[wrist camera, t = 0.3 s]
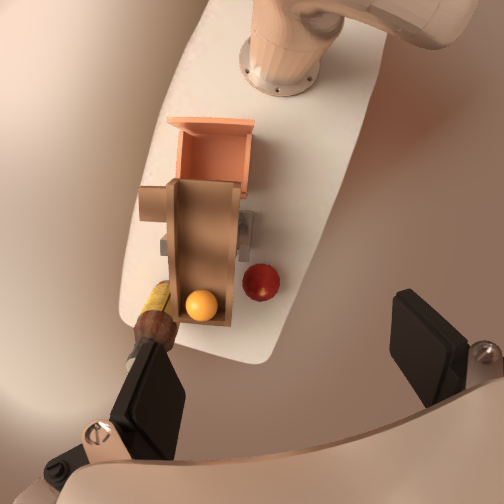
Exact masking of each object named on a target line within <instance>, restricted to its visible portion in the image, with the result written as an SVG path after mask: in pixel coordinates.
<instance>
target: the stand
mask: <svg viewBox="0 0 504 504" xmlns="http://www.w3.org/2000/svg"><path fill="white" fill-rule="evenodd" d="M252 222H253V212H248V211H239V217H238V230H237V244H236V245H237V250H239V261H241V262H249V252H250V245H251V234H252ZM160 253H161V256H168V245H167V234H166V235H165V236H164V237H163V238H162V239H161V240H160Z"/></svg>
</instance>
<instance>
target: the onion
mask: <svg viewBox="0 0 504 504" xmlns="http://www.w3.org/2000/svg"><path fill="white" fill-rule="evenodd" d="M242 286H243V289H244V291H245V293H246V295H247V296H249V297H250V298H251V299H252V300H255V301H259V302H261V301H267V300H269V299H271V298H273V297H274V296H275V294H276V293H277V292H278V289H279V286H280V278H279V275H278V273H277V272H276V270H275V269H274V268H273V267H271V266H270V265H266V264H255V265H253V266H251V267H249V269H248V270H247V271H246V272H245V274H244V277H243V280H242Z"/></svg>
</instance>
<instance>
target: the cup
mask: <svg viewBox="0 0 504 504" xmlns="http://www.w3.org/2000/svg"><path fill="white" fill-rule="evenodd" d="M254 121H255V120H246V119H232V118H211V117H167V123H169V124H171V125H173V126H175V127H177V128H179V129H181V130H183V131H179V135H178V148H177V162H176V178H181V179H204V180H222V181H237V182H241V192H240V198H241V199H246V196H247V193H246V192H247V185H248V173H249V162H250V150H251V139H252V131H253V127H254Z"/></svg>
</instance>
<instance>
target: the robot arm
mask: <svg viewBox="0 0 504 504" xmlns="http://www.w3.org/2000/svg"><path fill="white" fill-rule="evenodd" d="M478 2H479V0H253V14H252V27H251V36H250V37H249V38H248V39H247V40H246V41H245V43H244V44H243V46H242V48H241V50H240V55H239V64H240V69H241V71H242V74H243V75H244V77H245V79H246V80H247V81H248V82H249V83H250V84H251V85H252V86H253V87H255V88H256V89H258V90H260V91H261V92H263V93H266V94H269V95H274V96H291V95H295V94H298V93H301V92H303V91H304V90H306V89H307V88H308V87H310V86H311V85H312V84H313V83H314V81H315V80H316V78H317V76H318V74H319V70H320V60H319V59H320V58H321V57H322V55H323V54H324V53H325V52H326V50H327V49H328V48H329V47H330V46H331V44H332V43H333V42H334V41H335V39H336V38H337V37H338V36H339V34H340V33H341V31H342V28H343V25H344V18H345V17H347V18H350V19H354V20H357V21H360V22H363V23H365V24H368V25H370V26H373V27H375V28H377V29H380V30H382V31H384V32H387V33H389V34H391V35H393V36H396V37H398V38H400V39H402V40H404V41H407V42H409V43H411V44H413V45H415V46H418V47H421V48H425V49H429V50H437V49H442V48H445V47H447V46H449V45H450V44H452V43H453V42H454V41H455V40H456V39H457V38H458V37H459V36H460V35H461V34H462V32H463V31H464V29H465V28H466V26H467V24H468V23H469V21H470V19H471V17H472V15H473V13H474V11H475V9H476V7H477V4H478ZM249 43H250V44H249ZM246 72H249V73H248V74H247V73H246ZM307 79H309V80H310V81H308V80H307ZM276 90H278V91H279V92H276ZM391 325H392V326H391V337H390V354H391V356H392V358H393V359H394V361H395V362H396V364H397V365H398V366H399V368H400V369H401V371H402V372H403V374H404V375H405V377H406V378H407V380H408V381H409V383H410V384H411V386H412V387H413V389H414V390H415V392H416V393H417V395H418V397H419V398H420V400H421V401H422V403H423V405H424V406H425V408H426V409H424V410H422V411H419V412H417V413H415V414H412V415H410V416H408V417H405V418H403V419H401V420H398V421H396V422H393V423H390V424H387V425H385V426H382V427H379V428H376V429H373V430H371V431H368V432H365V433H361V434H358V435H355V436H351V437H348V438H344V439H341V440H337V441H334V442H330V443H326V444H322V445H318V446H313V447H309V448H304V449H299V450H294V451H289V452H282V453H276V454H270V455H263V456H255V457H246V458H235V459H223V460H199V461H173V460H174V456H175V451H176V445H177V439H178V434H179V429H180V424H181V419H182V413H183V408H184V403H185V398H186V395H185V390H184V388H183V386H182V384H181V382H180V380H179V378H178V377H177V374H176V372H175V370H174V368H173V366H172V364H171V362H170V359H169V357H168V355H167V353H166V351H165V348H164V346H163V345H161V344H160V345H159V343H158V342H156V341H155V342H146V343H143V344H142V346H141V348H140V350H139V352H138V354H137V356H136V358H135V360H134V363H133V365H132V367H131V369H130V371H129V373H128V375H127V377H126V380H125V382H124V384H123V386H122V388H121V391H120V393H119V395H118V397H117V400H116V402H115V404H114V406H113V409H112V411H111V413H110V415H111V416H110V419H109V421H108V420H105V419H98V420H95V421H93V422H91V423H89V424H88V425H87V426H86V427H85V428H84V430H83V432H82V435H81V439H82V444H80V445H78V446H77V447H75V448H73V449H71V450H69V451H67V452H65V453H63V454H62V455H59V456H58V457H56V458H54V459H52V460H51V461H49V462H48V463H47V465H46V467H45V469H44V479H42V478H41V477H39V478H38V479H37V480H36V481H35V482H34V483H33V484H32V485H31V486H29V487H28V488H27V489H26V490H25V491H24V492H23V493H21V494H20V495H19V496H18V497H17V498H16V499H15V501H14V503H13V504H504V357H503V356H502V351H501V349H500V347H499V346H498V345H496V344H495V343H493V342H490V341H486V340H484V341H478V342H475V343H474V344H472V345H471V346H469V344H468V343H467V342H468V341H467V339H466V338H465V337H464V336H462V335H461V334H460V333H459V332H458V331H457V330H456V329H455V328H454V327H453V326H452V325H451V324H450V323H449V322H448V321H447V320H445V319H444V318H443V317H442V316H441V315H440V314H439V313H438V312H437V311H435V310H434V309H433V308H432V307H431V306H430V305H429V304H428V303H426V302H425V301H424V300H423V299H422V298H421V297H420V296H418V295H417V294H416V293H415V292H414V291H413V290H411V289H406V290H403V291H399V292H397V294H396V296H395V297H394V298H393V306H392V324H391Z"/></svg>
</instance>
